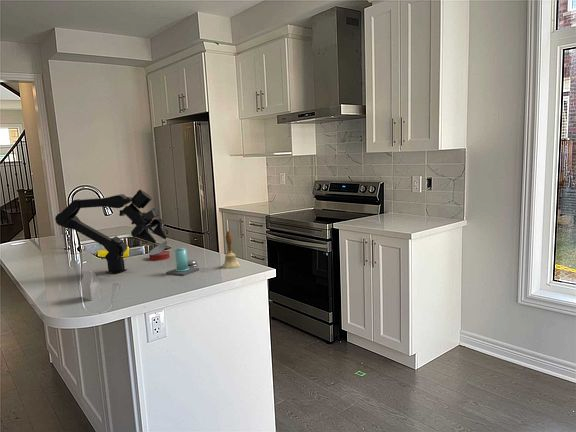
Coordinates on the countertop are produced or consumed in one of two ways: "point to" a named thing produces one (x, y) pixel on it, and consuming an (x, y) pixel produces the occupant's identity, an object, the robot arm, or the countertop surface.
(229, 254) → the hand bell
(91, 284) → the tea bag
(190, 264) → the metal domed disc
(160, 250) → the canned food
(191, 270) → the mat
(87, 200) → the robot arm
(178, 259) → the teal cylinder
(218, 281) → the countertop surface
